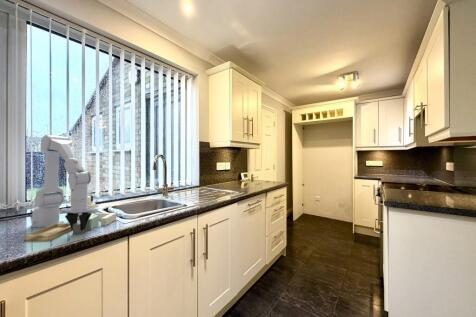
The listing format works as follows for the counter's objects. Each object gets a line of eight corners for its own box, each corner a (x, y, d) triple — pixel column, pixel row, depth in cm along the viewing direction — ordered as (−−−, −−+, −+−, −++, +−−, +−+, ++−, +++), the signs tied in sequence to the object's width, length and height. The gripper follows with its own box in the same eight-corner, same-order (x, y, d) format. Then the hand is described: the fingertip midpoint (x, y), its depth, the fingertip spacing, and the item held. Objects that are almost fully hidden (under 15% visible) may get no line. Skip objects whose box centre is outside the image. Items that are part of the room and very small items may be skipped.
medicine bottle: (80, 215, 116) (81, 194, 116) (95, 214, 119) (96, 194, 119) (75, 219, 110) (76, 197, 110) (91, 218, 112) (92, 196, 112)
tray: (23, 240, 81) (24, 235, 81) (56, 227, 97) (56, 222, 97) (51, 240, 82) (51, 235, 82) (78, 227, 98) (78, 222, 98)
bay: (80, 225, 100) (80, 218, 100) (92, 219, 110) (93, 213, 110) (106, 225, 101) (106, 218, 101) (116, 219, 111) (116, 212, 111)
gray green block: (70, 234, 88) (70, 223, 88) (87, 225, 100) (88, 215, 100) (82, 234, 89) (82, 223, 89) (98, 225, 101) (98, 215, 101)
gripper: (54, 200, 85) (53, 233, 85) (90, 200, 87) (90, 232, 87) (66, 197, 92) (66, 227, 92) (100, 197, 94) (99, 227, 94)
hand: (78, 229), depth 90 cm, fingers closed on gray green block, 3 cm apart
